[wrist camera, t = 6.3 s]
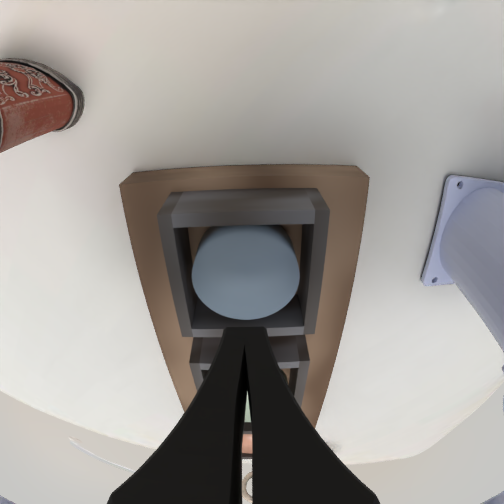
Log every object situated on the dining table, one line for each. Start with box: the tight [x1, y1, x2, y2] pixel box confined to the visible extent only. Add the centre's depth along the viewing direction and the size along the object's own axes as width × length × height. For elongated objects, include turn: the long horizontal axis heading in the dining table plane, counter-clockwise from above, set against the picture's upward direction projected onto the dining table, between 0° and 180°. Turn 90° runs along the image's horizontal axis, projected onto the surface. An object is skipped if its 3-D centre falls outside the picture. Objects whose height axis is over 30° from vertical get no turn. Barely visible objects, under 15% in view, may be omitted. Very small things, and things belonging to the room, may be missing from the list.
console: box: [119, 164, 370, 459], centre depth 20 cm, size 12×26×5 cm, turn 1°
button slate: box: [192, 225, 300, 320], centre depth 14 cm, size 5×5×2 cm
